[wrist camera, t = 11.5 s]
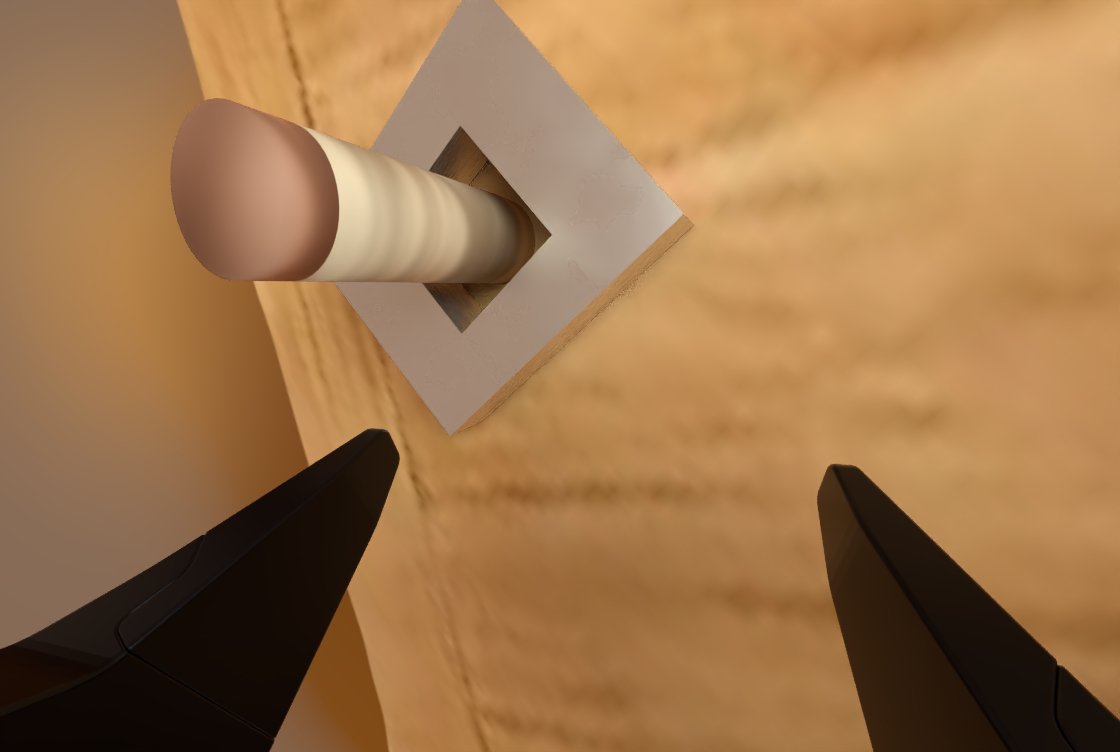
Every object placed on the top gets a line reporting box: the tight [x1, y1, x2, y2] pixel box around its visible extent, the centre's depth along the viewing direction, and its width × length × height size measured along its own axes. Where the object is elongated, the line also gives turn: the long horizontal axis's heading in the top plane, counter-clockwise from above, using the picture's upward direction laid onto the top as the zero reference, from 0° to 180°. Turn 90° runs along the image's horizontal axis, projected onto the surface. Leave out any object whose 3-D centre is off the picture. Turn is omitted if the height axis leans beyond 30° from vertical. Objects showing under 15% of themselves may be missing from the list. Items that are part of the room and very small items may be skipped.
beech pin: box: [171, 98, 535, 283], centre depth 16 cm, size 4×4×12 cm
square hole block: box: [334, 0, 694, 436], centre depth 20 cm, size 12×14×3 cm
